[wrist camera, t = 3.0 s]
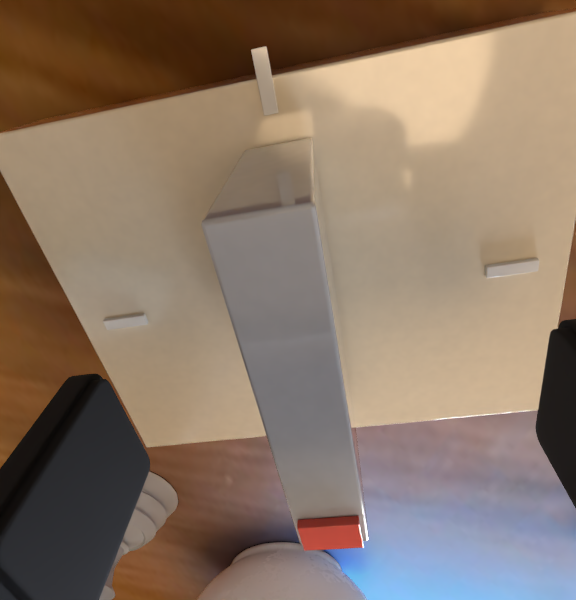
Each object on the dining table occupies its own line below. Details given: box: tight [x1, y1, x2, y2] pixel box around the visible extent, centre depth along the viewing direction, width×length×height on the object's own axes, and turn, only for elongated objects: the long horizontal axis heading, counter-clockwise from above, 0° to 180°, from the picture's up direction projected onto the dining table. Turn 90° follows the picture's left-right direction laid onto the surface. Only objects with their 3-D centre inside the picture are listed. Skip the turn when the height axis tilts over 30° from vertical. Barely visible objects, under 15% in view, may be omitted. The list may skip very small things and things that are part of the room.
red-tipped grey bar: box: [201, 138, 369, 551], centre depth 11 cm, size 9×2×5 cm, turn 11°
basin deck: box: [0, 8, 576, 447], centre depth 14 cm, size 15×13×3 cm
